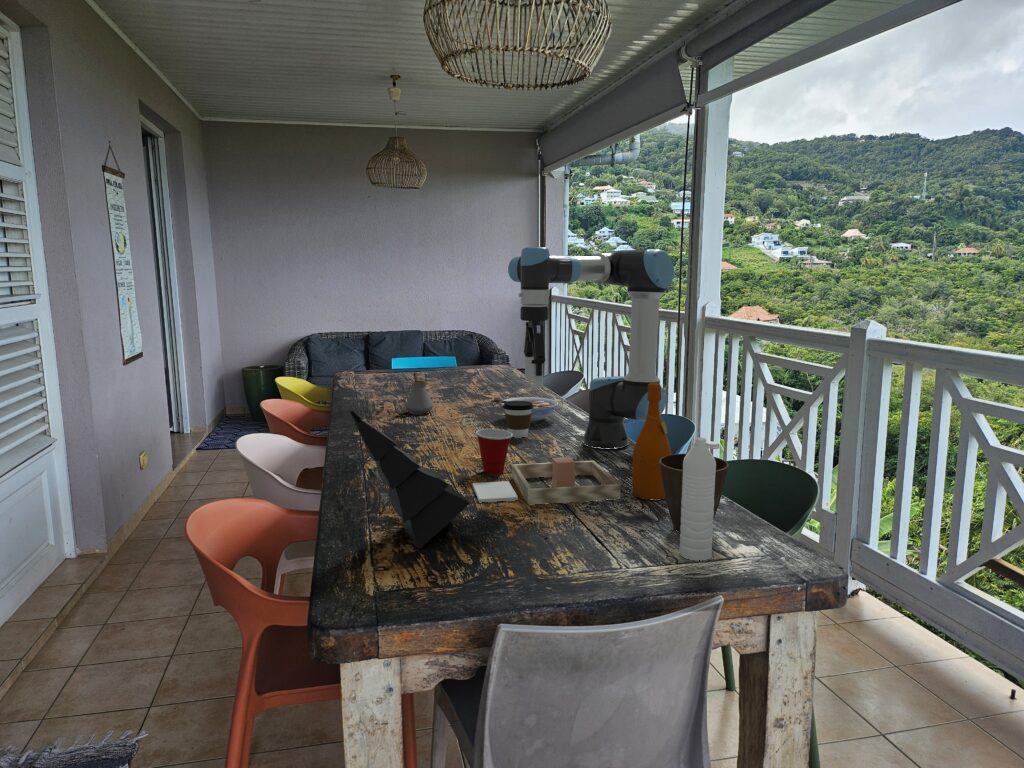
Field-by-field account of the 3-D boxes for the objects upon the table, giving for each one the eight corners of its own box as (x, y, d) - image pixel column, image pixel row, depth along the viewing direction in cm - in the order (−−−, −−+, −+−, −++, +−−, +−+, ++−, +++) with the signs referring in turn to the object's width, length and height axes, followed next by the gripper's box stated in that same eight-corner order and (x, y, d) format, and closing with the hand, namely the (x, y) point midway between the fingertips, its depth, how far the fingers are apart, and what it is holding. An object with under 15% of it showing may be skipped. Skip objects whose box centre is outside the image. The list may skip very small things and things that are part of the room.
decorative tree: (412, 539, 164) (317, 426, 152) (461, 497, 167) (372, 383, 155) (429, 563, 151) (326, 441, 139) (482, 517, 154) (386, 394, 142)
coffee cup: (497, 438, 248) (497, 404, 247) (509, 431, 258) (509, 399, 257) (527, 441, 244) (527, 406, 242) (537, 434, 254) (538, 401, 252)
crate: (593, 473, 205) (593, 460, 204) (620, 500, 182) (620, 485, 181) (512, 478, 201) (512, 464, 200) (528, 505, 178) (528, 490, 177)
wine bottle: (647, 504, 179) (651, 387, 174) (624, 493, 187) (627, 381, 182) (677, 498, 183) (682, 384, 178) (653, 488, 192) (657, 378, 187)
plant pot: (713, 547, 151) (717, 475, 148) (647, 534, 159) (649, 464, 156) (732, 526, 163) (736, 459, 161) (670, 514, 171) (672, 450, 168)
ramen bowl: (571, 419, 280) (571, 398, 279) (542, 430, 261) (542, 408, 260) (517, 412, 293) (517, 393, 292) (486, 422, 274) (486, 401, 273)
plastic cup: (508, 478, 201) (508, 437, 199) (471, 476, 203) (471, 435, 201) (516, 467, 211) (516, 428, 209) (480, 465, 213) (480, 427, 211)
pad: (508, 484, 195) (508, 481, 195) (517, 500, 181) (517, 497, 181) (472, 486, 193) (472, 483, 193) (479, 502, 179) (479, 499, 179)
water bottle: (673, 551, 148) (677, 435, 144) (699, 548, 151) (705, 433, 147) (696, 568, 140) (702, 445, 136) (724, 563, 142) (730, 442, 138)
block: (570, 485, 194) (570, 457, 193) (574, 491, 189) (575, 462, 188) (552, 486, 193) (552, 458, 192) (556, 492, 188) (556, 463, 187)
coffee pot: (435, 414, 289) (434, 378, 286) (406, 416, 286) (406, 379, 283) (428, 405, 309) (427, 371, 307) (401, 406, 306) (400, 372, 304)
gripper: (514, 303, 202) (513, 377, 205) (527, 308, 177) (527, 391, 180) (540, 303, 203) (539, 376, 206) (557, 308, 178) (556, 391, 181)
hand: (533, 384), depth 193 cm, fingers open, 13 cm apart
